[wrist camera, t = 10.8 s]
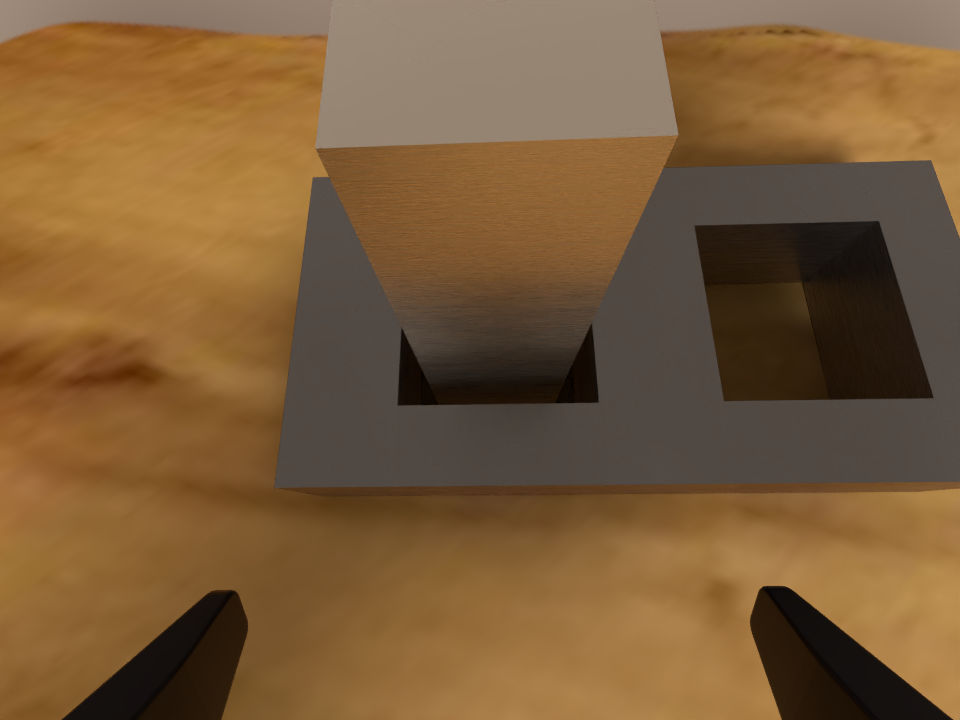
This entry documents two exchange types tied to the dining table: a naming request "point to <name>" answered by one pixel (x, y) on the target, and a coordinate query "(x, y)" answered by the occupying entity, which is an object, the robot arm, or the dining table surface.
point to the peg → (495, 172)
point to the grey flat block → (661, 354)
